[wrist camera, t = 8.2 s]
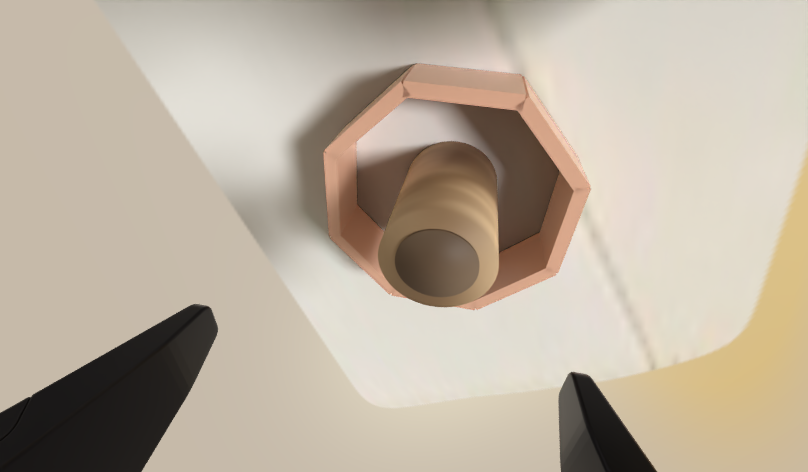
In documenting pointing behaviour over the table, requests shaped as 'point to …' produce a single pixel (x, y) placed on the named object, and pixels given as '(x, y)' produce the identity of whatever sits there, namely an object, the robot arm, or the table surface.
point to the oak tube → (444, 228)
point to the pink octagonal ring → (468, 87)
